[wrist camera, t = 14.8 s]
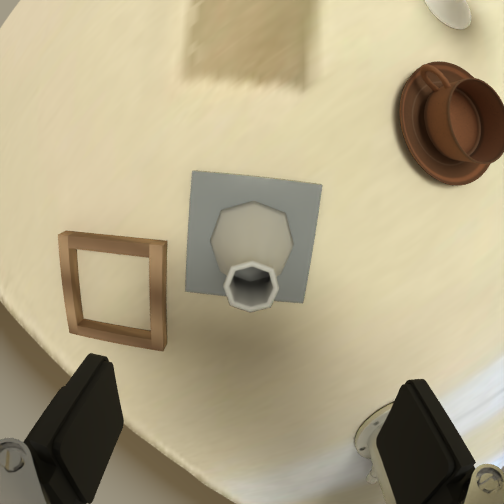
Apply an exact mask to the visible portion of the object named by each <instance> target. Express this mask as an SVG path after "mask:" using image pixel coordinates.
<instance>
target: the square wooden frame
mask: <svg viewBox="0 0 504 504" xmlns="http://www.w3.org/2000/svg"><path fill="white" fill-rule="evenodd" d="M58 242H59V256H60V267H61V277H62V286H63V294H64V301H65V308H66V314H67V321H68V326H69V332H70V333H72V334H76V335H80V336H85V337H89V338H94V339H99V340H103V341H108V342H113V343H118V344H123V345H129V346H134V347H140V348H146V349H152V350H158V351H164V349H165V346H166V344H167V325H166V268H167V241H163V240H153V239H143V238H134V237H124V236H114V235H104V234H94V233H84V232H74V231H65V232H63V233H61V234H58ZM77 249H82V250H90V251H98V252H106V253H115V254H123V255H132V256H140V257H149V285H150V321H151V331H148V330H142V329H136V328H130V327H124V326H119V325H113V324H108V323H102V322H97V321H92V320H87V319H83V312H82V304H81V296H80V287H79V276H78V264H77Z"/></svg>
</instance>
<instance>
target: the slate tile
mask: <svg viewBox="0 0 504 504" xmlns="http://www.w3.org/2000/svg"><path fill="white" fill-rule="evenodd" d="M321 191H322V185H321V184H316V183H309V182H301V181H293V180H285V179H277V178H269V177H260V176H250V175H241V174H230V173H219V172H207V171H194V170H193V171H192V180H191V193H190V207H189V222H188V240H187V261H186V288H185V291H186V292H194V293H203V294H211V295H220V296H227V295H226V293H225V290H224V287H223V286H224V282H225V280H226V277H227V275H225V274H223V273H222V272H221V271H220V270H219V267H218V264H217V261H216V258H215V255H214V252H213V249H212V246H211V243H210V239H211V236H212V233H213V231H214V228H215V225H216V222H217V220H218V217H219V214H220V211H221V210H222V209H226V208H229V207H233V206H236V205H240V204H243V203H247V202H251V201H256V202H259V203H262V204H264V205H267V206H269V207H272V208H275V209H277V210H280V211H282V212H285V213H286V215H287V219H288V223H289V227H290V231H291V235H292V238H293V242H294V246H293V248H292V250H291V253H290V255H289V257H288V260H287V262H286V264H285V266H284V269H283V271H282V273H281V274H280V275H279V276H277V277H276V278H277V282H278V285H279V290H278V293H277V295H276V297H275V299H274V301H282V302H293V303H303V301H304V296H305V291H306V285H307V280H308V274H309V268H310V262H311V256H312V250H313V244H314V238H315V232H316V225H317V219H318V212H319V205H320V198H321Z"/></svg>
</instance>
